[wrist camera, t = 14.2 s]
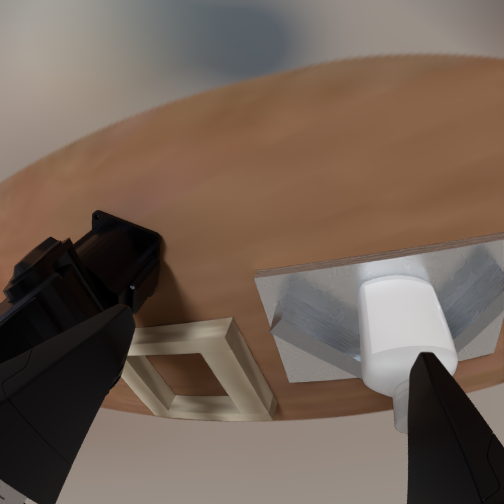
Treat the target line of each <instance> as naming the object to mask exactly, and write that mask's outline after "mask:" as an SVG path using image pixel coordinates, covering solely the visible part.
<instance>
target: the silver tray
mask: <svg viewBox="0 0 504 504" xmlns="http://www.w3.org/2000/svg"><path fill="white" fill-rule="evenodd" d="M390 275H405V276H412V277H416V278H419V279H422V280H424V281H427V282H428V283H430V284H431V285H432V286H433V288H434V290H435V293H436V295H437V297H438V300H439V303H440V305H441V308H442V310H443V313H444V316H445V319H446V321H447V324H448V327H449V330H450V333H451V336H452V339H453V342H454V345H455V349H456V352H457V357H458V361H462V360H466V359H471V358H475V357H479V356H483V355H487V354H491V353H494V350H495V347H496V344H497V340H498V337H499V333H500V330H501V326H502V322H503V318H504V232H502V233H496V234H491V235H485V236H479V237H473V238H468V239H462V240H456V241H450V242H444V243H438V244H432V245H426V246H419V247H413V248H407V249H401V250H394V251H388V252H381V253H375V254H369V255H362V256H355V257H349V258H342V259H335V260H329V261H322V262H315V263H308V264H301V265H294V266H287V267H280V268H273V269H265V270H258V271H257V272H256V274H255V277H254V279H255V282H256V285H257V288H258V291H259V294H260V297H261V300H262V303H263V306H264V309H265V312H266V315H267V318H268V321H269V324H270V327H271V328H270V332H269V333H271V334H273V336H274V339H275V342H276V344H277V347H278V350H279V353H280V356H281V359H282V362H283V365H284V368H285V371H286V374H287V377H288V380H289V383H292V382H310V381H325V380H337V379H348V378H360V379H363V378H362V368H361V350H360V333H359V318H358V296H359V290H360V287H361V285H362V284H363V283H365V282H366V281H369V280H372V279H375V278H379V277H383V276H390Z"/></svg>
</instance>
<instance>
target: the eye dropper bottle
mask: <svg viewBox="0 0 504 504" xmlns="http://www.w3.org/2000/svg"><path fill="white" fill-rule="evenodd" d="M358 318H359V333H360V350H361V368H362V378H363V382H364V384H365V385H366V386H367V387H369V388H370V389H372V390H374V391H376V392H378V393H381V394H383V395H386V396H390V397H393V407H394V421H395V428H396V429H397V430H398V431H399V432H402V433H407V434H408V427H407V417H408V398H409V374H410V370H411V368H412V366H413V364H414V362H415V360H416V358H417V357H418V355H419V353H420V352H433V353H434V354H435V355H436V356H437V358H438V359H439V360H440V361H441V363H442V364H443V365H444V366H445V368H446V369H447V370H448V371H449V373H450V374H451V375H452V376H453V374H454V372H455V370H456V368H457V363H458V357H457V352H456V349H455V345H454V342H453V339H452V336H451V333H450V330H449V327H448V324H447V321H446V319H445V316H444V313H443V310H442V308H441V305H440V303H439V300H438V297H437V295H436V293H435V290H434V288H433V286H432V285H431V284H430V283H428V282H427V281H424V280H422V279H419V278H416V277H412V276H405V275H390V276H383V277H379V278H375V279H372V280H369V281H366V282H365V283H363V284H362V285H361V287H360V290H359V296H358Z"/></svg>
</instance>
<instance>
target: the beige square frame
mask: <svg viewBox="0 0 504 504" xmlns="http://www.w3.org/2000/svg"><path fill="white" fill-rule="evenodd" d="M189 353H201V354H202V356H203V357H204V359H205V360H206V362H207V364H208V365H209V367H210V368H211V370H212V371H213V373H214V374H215V376H216V377H217V379H218V380H219V382H220V383H221V385H222V386H223V388H224V389H225V391H226V392H227V394H228V395H229V396H183V395H175V394H174V393H173V391H172V390H171V389H170V388H169V386H168V385H167V384H166V383H165V381H164V380H163V379H162V377H161V376H160V375H159V373H158V372H157V371H156V370H155V368H154V367H153V366H152V364H151V363H150V362H149V360H148V359H147V357H146V356H145V355H169V354H189ZM121 377H122V378H123V379H124V380H125V382H126V383H127V384H128V385H129V386H130V387H131V389H132V390H133V391H134V392H135V393H136V394H137V395H138V397H139V398H140V399H141V400H142V401H143V402H144V403H145V404H146V406H147V407H148V408H149V409H150V410H151V411H152V412H153V413H154V414H155V415H156V416H162V417H173V418H184V419H198V420H218V421H273V420H274V415H275V410H276V405H277V401H276V399H275V397H274V395H273V393H272V392H271V390H270V388H269V386H268V384H267V382H266V380H265V379H264V377H263V375H262V373H261V371H260V369H259V367H258V365H257V363H256V362H255V360H254V358H253V356H252V354H251V352H250V350H249V348H248V346H247V344H246V342H245V340H244V338H243V336H242V335H241V333H240V331H239V329H238V327H237V325H236V323H235V321H234V319H233V317H230V318H223V319H215V320H208V321H199V322H191V323H183V324H174V325H164V326H155V327H145V328H135V332H134V335H133V339H132V342H131V346H130V349H129V352H128V355H127V359H126V362H125V365H124V369H123V372H122V375H121Z"/></svg>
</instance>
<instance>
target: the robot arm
mask: <svg viewBox="0 0 504 504" xmlns="http://www.w3.org/2000/svg"><path fill="white" fill-rule="evenodd" d="M97 215H98V216H97ZM98 217H99V218H98ZM153 237H154V238H155V239H156V240H154V239H153ZM160 242H161V237H160V235H159V234H158V233H156V232H154V231H152V230H149V229H146V228H144V227H141V226H139V225H136V224H133V223H131V222H128V221H126V220H123V219H120V218H118V217H115V216H113V215H110V214H108V213H105V212H102V211H100V210H97V211H95V212H94V213H93V214H92V230H91V231H90V232H88V233H87V234H86V235H85V236H83V237H82V238H81V239H79V240H78V241H77V242H76V243H74V244H73V243H72V241H71V240H70V238H68V239H66V240H64V241H62V242H61V241H59V240H58V241H57V240H56V239H54V238H52V237H49V238H47V239H46V240H45V241H43V242H42V243H41V244H39V245H38V246H37V247H35V248H34V249H33V250H32V251H30V252H29V253H28V254H27V255H26V256H25V257H24V258H23V259H22V260H21V261H20V262H18V263H17V264H16V265H15V266H14V273H13V277H12V278H11V279H10V281H9V283H8V285H7V286H6V287H5V288H4V290H3V292H4V294H5V295H6V297H7V298H6V299H5V300H4V301H3V302H1V303H0V504H25V503H24V502H25V500H26V498H29V499H31V500H32V501H34V502H36V503H37V504H55V503H56V501H57V499H58V496H59V494H60V492H61V489H62V487H63V485H64V483H65V480H66V478H67V476H68V474H69V471H70V469H71V467H72V464H73V462H74V460H75V458H76V456H77V453H78V451H79V449H80V447H81V445H82V443H83V441H84V439H85V437H86V434H87V432H88V430H89V428H90V426H91V424H92V422H93V420H94V418H95V416H96V414H97V412H98V410H99V408H100V406H101V404H102V402H103V400H104V398H105V396H106V395H107V394H108V393H109V390H110V389H112V388H113V387H114V386H115V384H116V383H117V382H118V380H119V379H120V377H121V375H122V372H123V369H124V365H125V362H126V359H127V355H128V352H129V349H130V346H131V342H132V339H133V335H134V332H135V328H136V326H135V321H134V318H133V314H135V313H137V311H138V310H139V309H140V307H141V306H142V305H143V303H144V302H145V301H146V299H147V298H148V297H151V296H152V295H153V293H154V289H155V287H156V286H157V284H158V277H159V269H160V260H159V259H158V257H159V249H160ZM407 427H408V494H407V504H504V447H503V445H502V444H501V443H500V441H499V440H498V438H497V437H496V435H495V434H494V433H493V431H492V430H491V428H490V427H489V425H488V424H487V423H486V421H485V420H484V418H483V417H482V416H481V414H480V413H479V411H478V410H477V409H476V407H475V406H474V404H473V403H472V402H471V400H470V399H469V398H468V396H467V395H466V394H465V392H464V391H463V390H462V388H461V387H460V386H459V384H458V383H457V382H456V381H455V379H454V378H453V377H452V375H451V374H450V373H449V371H448V370H447V369H446V368H445V366H444V365H443V364H442V363H441V361H440V360H439V359H438V358H437V356H436V355H435V354H434V353H433V352H420V353H419V355H418V357H417V358H416V360H415V362H414V364H413V366H412V368H411V370H410V374H409V398H408V417H407Z"/></svg>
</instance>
